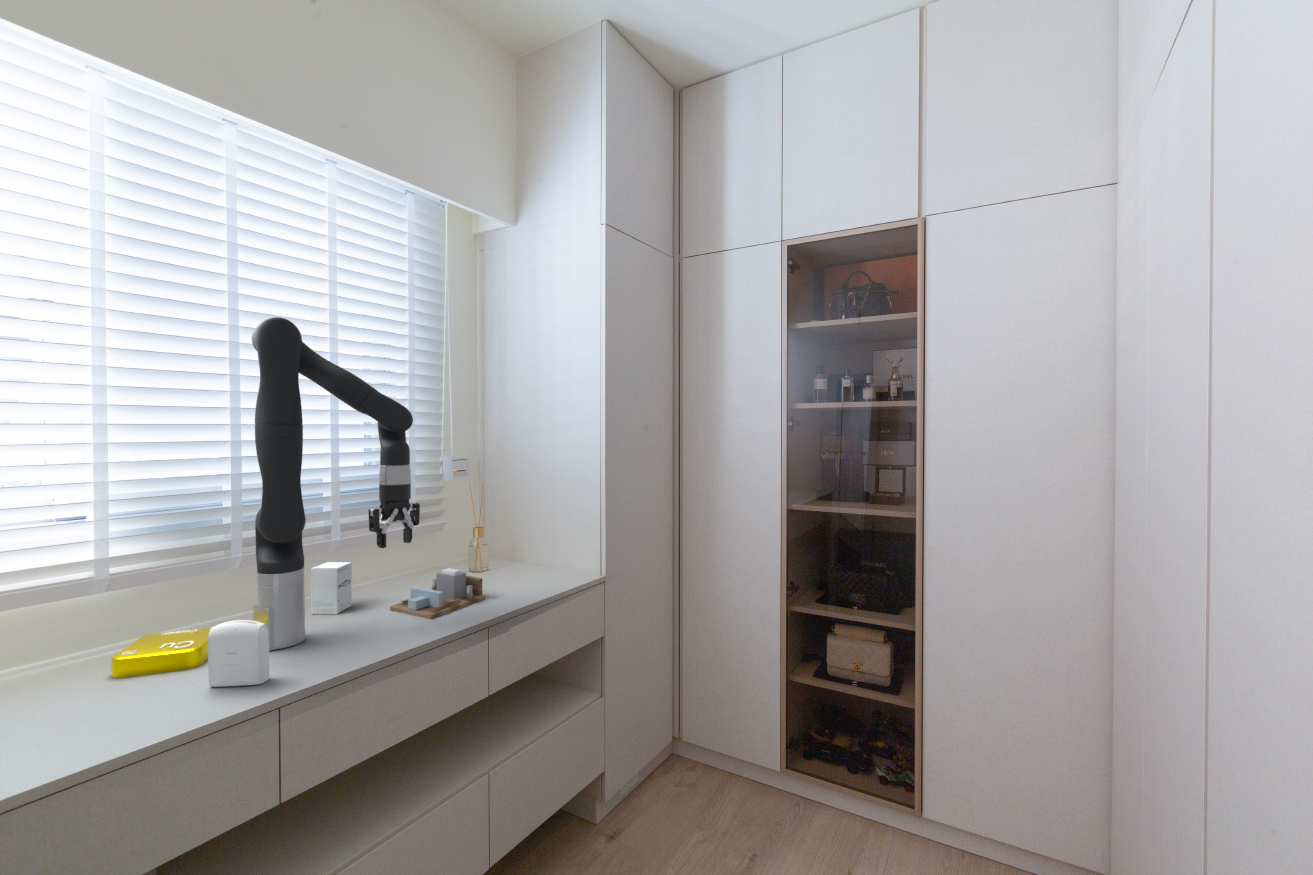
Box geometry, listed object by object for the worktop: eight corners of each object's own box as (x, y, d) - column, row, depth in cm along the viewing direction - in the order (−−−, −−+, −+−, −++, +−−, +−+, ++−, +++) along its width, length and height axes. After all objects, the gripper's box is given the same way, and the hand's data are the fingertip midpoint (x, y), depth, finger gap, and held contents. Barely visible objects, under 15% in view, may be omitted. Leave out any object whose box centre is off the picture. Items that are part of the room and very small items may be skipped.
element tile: (223, 643, 133) (223, 623, 132) (198, 669, 119) (198, 647, 119) (143, 653, 127) (142, 632, 127) (106, 681, 113) (106, 657, 113)
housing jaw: (426, 612, 150) (426, 597, 150) (397, 606, 155) (397, 591, 155) (443, 606, 156) (443, 591, 155) (415, 600, 161) (415, 586, 160)
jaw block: (454, 600, 161) (453, 573, 161) (436, 597, 165) (436, 570, 164) (465, 596, 165) (465, 569, 165) (448, 592, 169) (448, 566, 168)
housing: (431, 618, 149) (431, 596, 149) (390, 609, 156) (390, 588, 156) (484, 598, 166) (484, 578, 166) (445, 591, 173) (445, 571, 173)
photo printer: (204, 689, 109) (203, 625, 109) (218, 679, 113) (218, 617, 113) (260, 686, 110) (259, 623, 110) (273, 677, 114) (272, 616, 114)
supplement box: (337, 614, 152) (337, 568, 152) (310, 614, 152) (309, 567, 152) (352, 606, 159) (352, 561, 159) (326, 605, 159) (326, 561, 159)
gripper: (380, 485, 140) (380, 551, 140) (427, 480, 152) (427, 541, 153) (360, 483, 143) (360, 548, 143) (408, 479, 156) (408, 539, 156)
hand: (395, 544), depth 148 cm, fingers open, 7 cm apart
